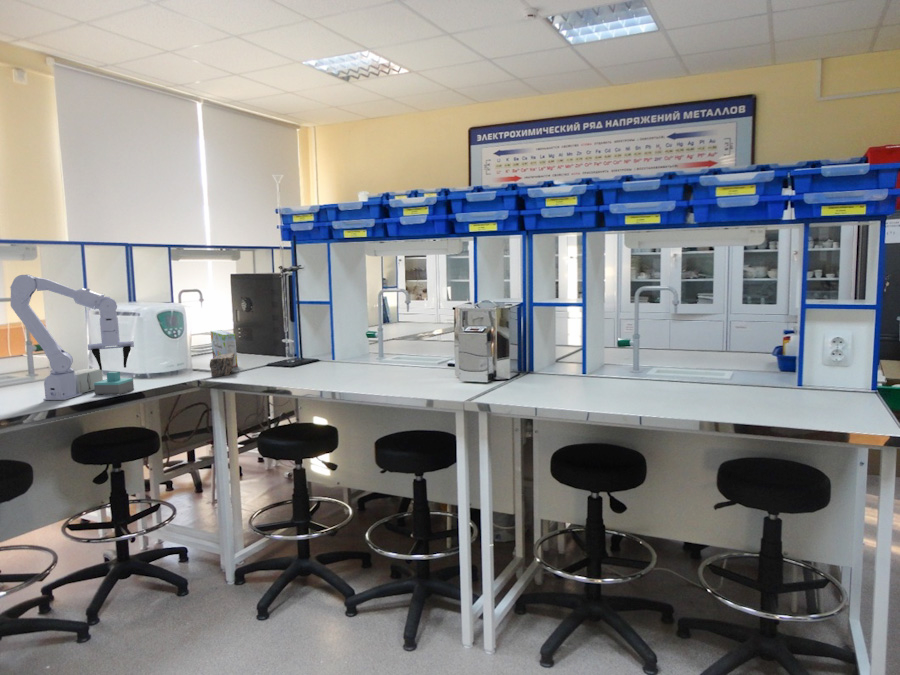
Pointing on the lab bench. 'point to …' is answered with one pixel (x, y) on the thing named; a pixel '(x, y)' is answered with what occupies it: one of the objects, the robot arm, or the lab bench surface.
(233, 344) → the snack box
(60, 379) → the robot arm
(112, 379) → the lid
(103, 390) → the box
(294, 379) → the lab bench surface
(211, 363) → the stone block
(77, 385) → the supplement box
